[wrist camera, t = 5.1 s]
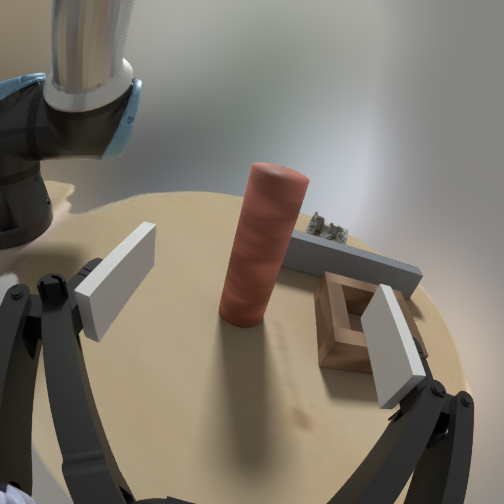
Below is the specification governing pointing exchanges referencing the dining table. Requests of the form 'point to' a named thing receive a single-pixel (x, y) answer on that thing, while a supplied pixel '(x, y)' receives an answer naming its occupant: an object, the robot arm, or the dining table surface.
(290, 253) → the backstop wall
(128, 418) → the dining table surface
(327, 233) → the grey rough frame
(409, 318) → the socket block
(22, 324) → the robot arm
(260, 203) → the dowel
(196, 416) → the dining table surface
